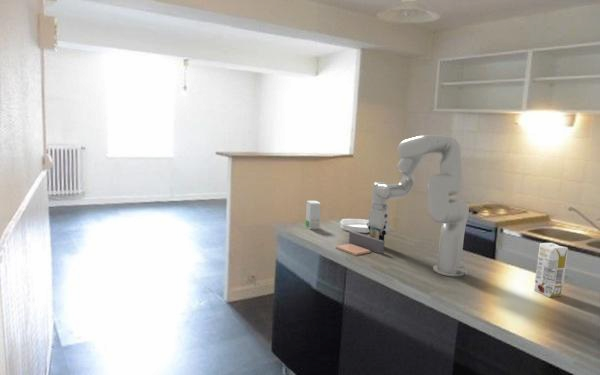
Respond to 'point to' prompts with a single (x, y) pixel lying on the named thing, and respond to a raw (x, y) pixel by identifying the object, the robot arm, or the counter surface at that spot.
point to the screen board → (366, 242)
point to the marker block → (375, 233)
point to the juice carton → (550, 269)
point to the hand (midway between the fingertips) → (376, 240)
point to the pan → (355, 225)
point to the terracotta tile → (353, 249)
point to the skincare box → (313, 214)
